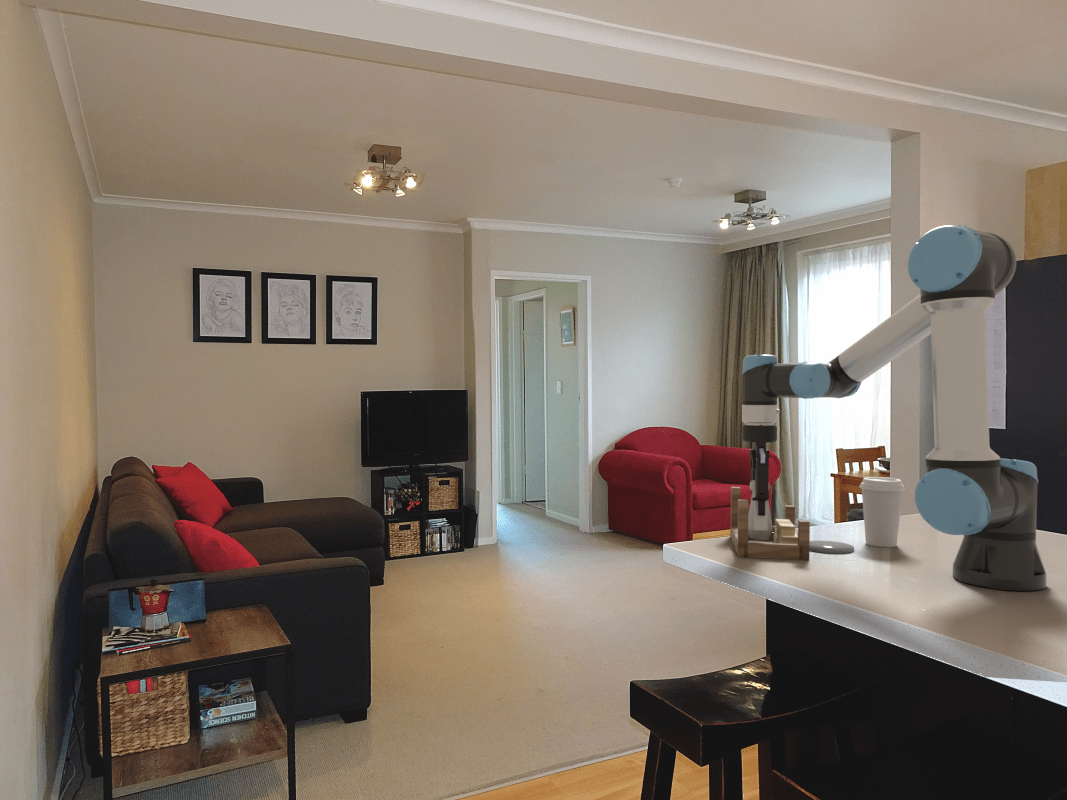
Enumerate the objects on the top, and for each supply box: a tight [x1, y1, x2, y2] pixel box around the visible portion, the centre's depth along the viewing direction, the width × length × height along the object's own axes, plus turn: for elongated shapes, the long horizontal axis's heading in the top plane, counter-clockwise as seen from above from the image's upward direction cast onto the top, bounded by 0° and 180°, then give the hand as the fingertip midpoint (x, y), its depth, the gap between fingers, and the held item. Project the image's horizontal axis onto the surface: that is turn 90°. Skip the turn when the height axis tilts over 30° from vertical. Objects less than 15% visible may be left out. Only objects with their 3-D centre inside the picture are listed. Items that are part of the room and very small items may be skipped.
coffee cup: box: [859, 476, 906, 548], centre depth 180 cm, size 10×10×15 cm
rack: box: [729, 486, 811, 561], centre depth 175 cm, size 22×14×12 cm, turn 170°
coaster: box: [809, 540, 855, 554], centre depth 175 cm, size 11×11×1 cm
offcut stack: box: [773, 518, 798, 544], centre depth 175 cm, size 14×3×6 cm, turn 170°
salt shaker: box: [748, 480, 773, 541], centre depth 175 cm, size 6×6×13 cm
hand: (759, 527), depth 176 cm, fingers closed on salt shaker, 6 cm apart
